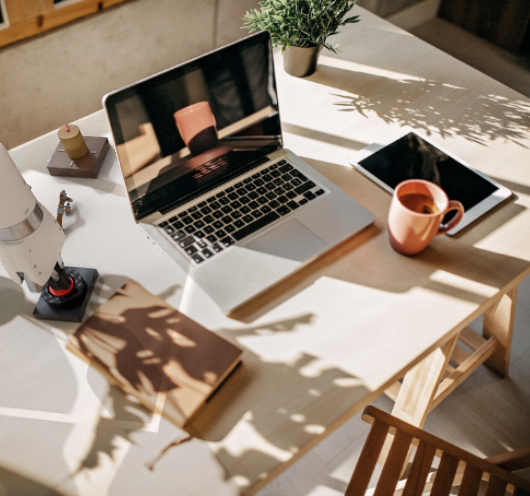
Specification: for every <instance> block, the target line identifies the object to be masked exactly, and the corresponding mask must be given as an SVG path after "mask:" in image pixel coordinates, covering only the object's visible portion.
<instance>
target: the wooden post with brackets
mask: <svg viewBox="0 0 530 496" xmlns="http://www.w3.org/2000/svg"><path fill="white" fill-rule="evenodd" d="M67 194H68V193H67V192H66V190H65V189H62V190H61V191H59V196H58V199H59V203H58V204H57V209H56V218H55V219H56V221H57V222H58V223H59V225H60V227H61V228H62V230H63V232H65V228H63V216H64V214H65V215H66V216H68V215H69V214H71V209H72V207H71V206H70V205H71V204H70V203H73V202H74V199H72V197H69V196H67ZM65 203H66V205H65Z"/></svg>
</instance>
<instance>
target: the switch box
mask: <svg viewBox="0 0 530 496" xmlns="http://www.w3.org/2000/svg"><path fill="white" fill-rule="evenodd" d="M63 269H64V270H65V271H66V273H67V274H68V276H70V277H71V278H72V280H73V281H74V283H75V286H74V288H73V290H72V291H71V292H70V293H69V294H68V295H65V296H62V297H54V296H53V295H52V293H51V292H50V290H49V284H48V283H47V284H44V287H43V288H42V290H41V292H40V295H39V297H38V300H37V301H36V304H35V306H34V309H33V311H32V316H33V318H35V319H36V320H44V321H53V322H54V321H55V322H67V323H76V324H82V322H83V319H84V315H85V313H86V311H87V307H88V304H89V302H90V299H91V297H92V294H93V291H94V288H95V286H96V284H97V281H98V278H99V275H100V273H99V271H98V269H97V268H92V267H91V268H90V267H79V266H67V265H64V267H63Z"/></svg>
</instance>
